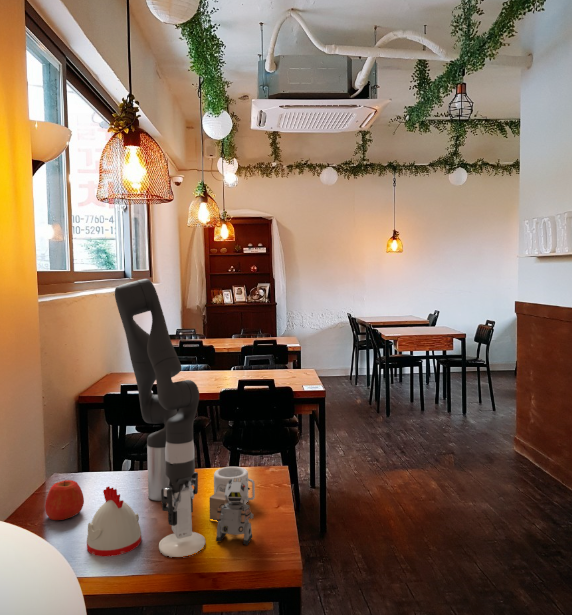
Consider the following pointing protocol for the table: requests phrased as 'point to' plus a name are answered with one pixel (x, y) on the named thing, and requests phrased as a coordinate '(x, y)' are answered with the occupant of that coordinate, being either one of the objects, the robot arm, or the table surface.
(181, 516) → the skincare box
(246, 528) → the figurine
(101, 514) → the kitchen timer
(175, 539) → the white glossy disc
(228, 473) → the mug
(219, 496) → the walnut block
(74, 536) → the table surface
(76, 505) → the apple
